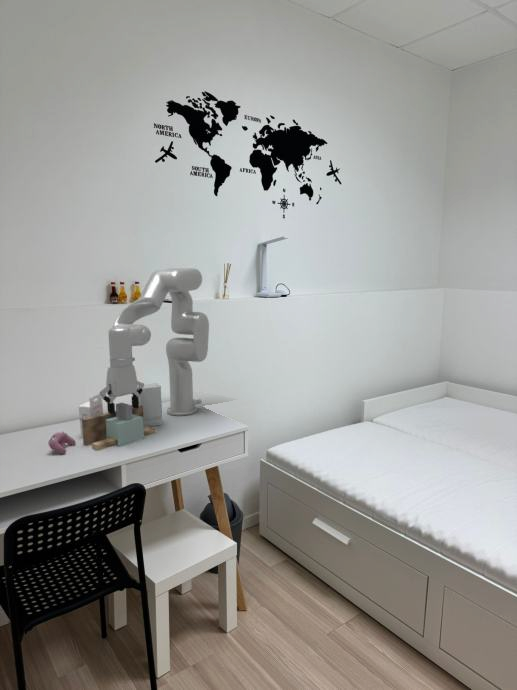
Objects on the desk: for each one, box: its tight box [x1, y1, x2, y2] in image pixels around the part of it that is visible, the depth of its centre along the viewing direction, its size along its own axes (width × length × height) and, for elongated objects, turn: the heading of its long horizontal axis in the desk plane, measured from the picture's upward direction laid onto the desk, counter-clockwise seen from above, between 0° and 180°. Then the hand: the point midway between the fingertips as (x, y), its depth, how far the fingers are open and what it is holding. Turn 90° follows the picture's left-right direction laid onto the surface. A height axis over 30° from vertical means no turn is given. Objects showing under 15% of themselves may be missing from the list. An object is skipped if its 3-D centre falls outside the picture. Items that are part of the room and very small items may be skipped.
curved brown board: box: [82, 405, 156, 451], centre depth 178 cm, size 24×9×9 cm, turn 138°
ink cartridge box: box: [78, 393, 104, 438], centre depth 183 cm, size 9×5×15 cm, turn 168°
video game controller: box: [48, 431, 77, 455], centre depth 168 cm, size 10×5×7 cm, turn 179°
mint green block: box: [106, 402, 145, 447], centre depth 176 cm, size 10×8×13 cm
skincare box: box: [137, 382, 164, 428], centre depth 194 cm, size 8×7×16 cm
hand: (123, 410), depth 175 cm, fingers open, 9 cm apart
